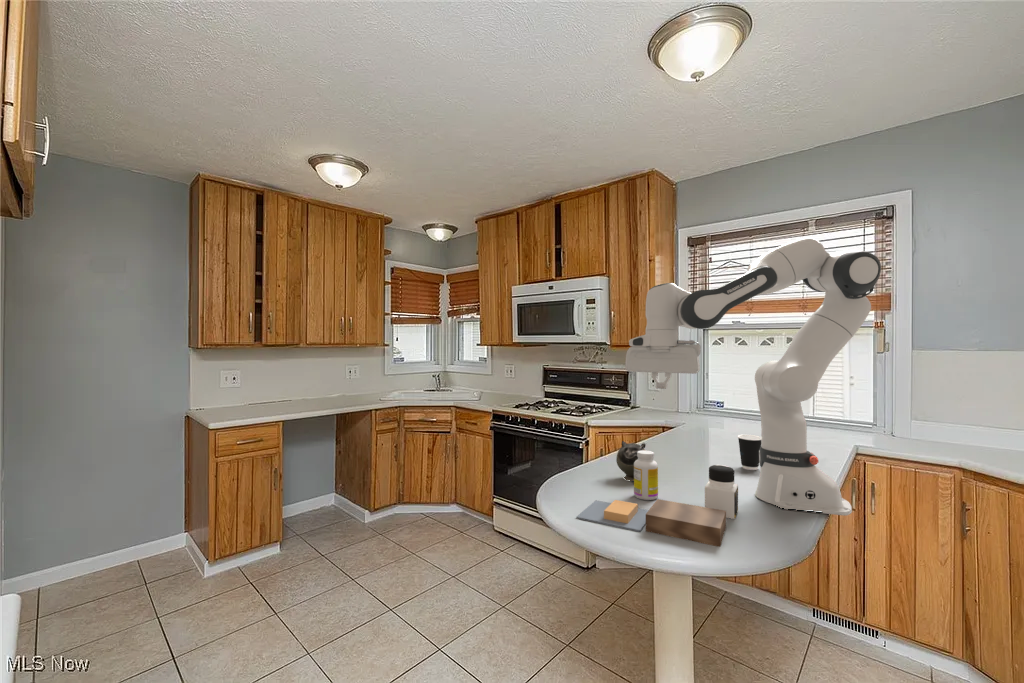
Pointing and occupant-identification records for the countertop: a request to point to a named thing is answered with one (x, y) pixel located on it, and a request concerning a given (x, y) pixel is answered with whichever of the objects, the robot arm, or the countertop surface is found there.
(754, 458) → the dixie cup
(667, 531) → the wooden block
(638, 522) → the mat
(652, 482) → the supplement bottle
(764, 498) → the robot arm
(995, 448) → the countertop surface
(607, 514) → the tile
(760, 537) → the countertop surface
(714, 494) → the medicine bottle
